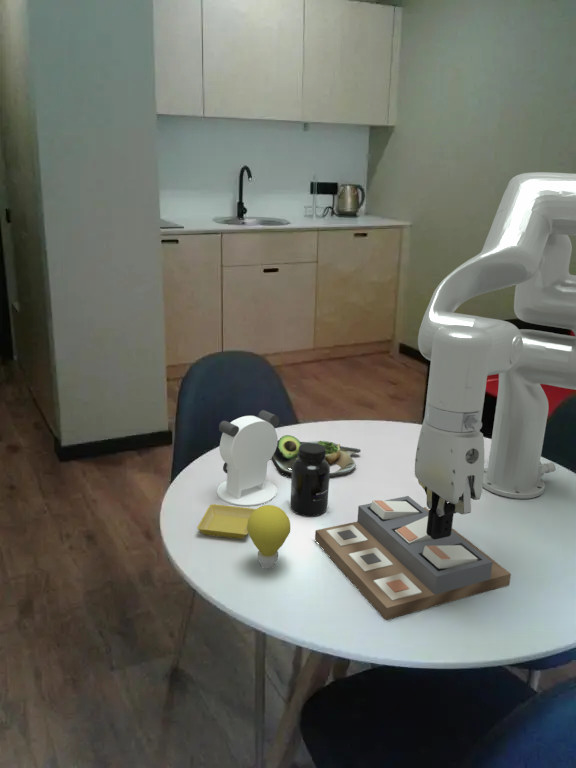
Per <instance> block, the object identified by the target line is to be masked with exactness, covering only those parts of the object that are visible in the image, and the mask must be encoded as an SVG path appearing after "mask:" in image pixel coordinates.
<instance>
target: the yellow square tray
mask: <svg viewBox="0 0 576 768" xmlns="http://www.w3.org/2000/svg"><path fill="white" fill-rule="evenodd" d="M256 509H257V508H250V507H244V506H235V505H223V504H216V503H212V504H210V505H209V506H208V507H207V508H206V511H205V513H204V515H203V517H202V518H201V520H200V522H199V523H198V525H197V527H196V529H197V530H198V531H199V532H200V533H201V534H203V535H205V536H212V537H218V538H219V537H220V538H227V539H237V540H242V539H243V540H244V539H245V537H246V536H247V535H249V534H248V532H247V524H248V519H249V517H250V516H251V514H252V513H253V512H254V511H255V510H256Z"/></svg>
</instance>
